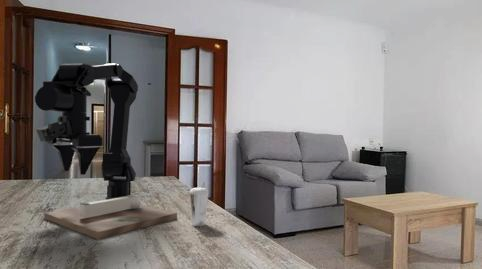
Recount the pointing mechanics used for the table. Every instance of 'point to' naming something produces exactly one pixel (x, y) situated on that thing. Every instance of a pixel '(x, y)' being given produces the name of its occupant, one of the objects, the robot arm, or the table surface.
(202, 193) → the milkshake
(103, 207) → the peg lever
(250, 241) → the table surface
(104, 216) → the plate
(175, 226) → the table surface
